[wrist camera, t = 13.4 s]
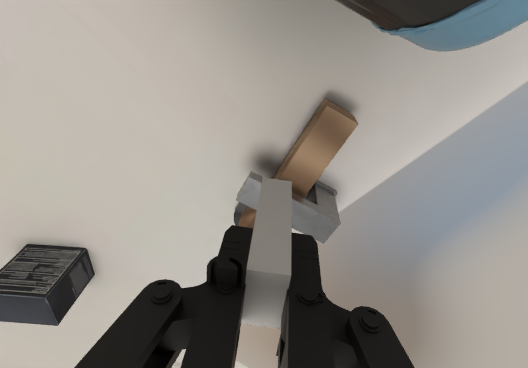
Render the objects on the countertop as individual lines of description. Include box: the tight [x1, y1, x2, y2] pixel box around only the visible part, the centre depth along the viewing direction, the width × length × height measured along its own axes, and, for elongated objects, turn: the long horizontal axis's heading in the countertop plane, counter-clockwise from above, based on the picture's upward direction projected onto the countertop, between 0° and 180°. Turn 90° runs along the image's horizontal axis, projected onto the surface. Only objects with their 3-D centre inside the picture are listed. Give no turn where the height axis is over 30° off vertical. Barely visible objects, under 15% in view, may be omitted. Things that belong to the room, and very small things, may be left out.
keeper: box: [236, 171, 340, 243], centre depth 41 cm, size 12×4×8 cm, turn 62°
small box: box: [0, 244, 95, 326], centre depth 50 cm, size 11×6×10 cm, turn 89°
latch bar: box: [238, 99, 358, 228], centre depth 40 cm, size 22×6×5 cm, turn 151°
